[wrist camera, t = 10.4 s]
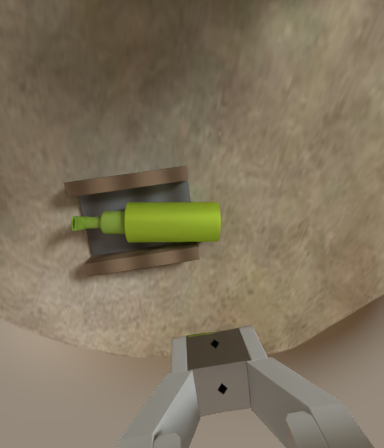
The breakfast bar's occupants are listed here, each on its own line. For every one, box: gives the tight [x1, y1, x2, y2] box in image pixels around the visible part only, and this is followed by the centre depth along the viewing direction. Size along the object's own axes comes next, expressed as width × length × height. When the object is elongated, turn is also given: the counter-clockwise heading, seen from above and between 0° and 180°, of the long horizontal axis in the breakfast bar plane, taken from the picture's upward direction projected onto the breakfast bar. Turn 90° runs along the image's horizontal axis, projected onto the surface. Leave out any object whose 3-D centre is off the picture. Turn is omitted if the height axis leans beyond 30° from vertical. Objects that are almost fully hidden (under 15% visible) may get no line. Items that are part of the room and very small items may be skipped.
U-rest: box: [64, 166, 199, 276], centre depth 36 cm, size 17×14×4 cm
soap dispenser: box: [71, 202, 221, 242], centre depth 34 cm, size 6×7×20 cm
